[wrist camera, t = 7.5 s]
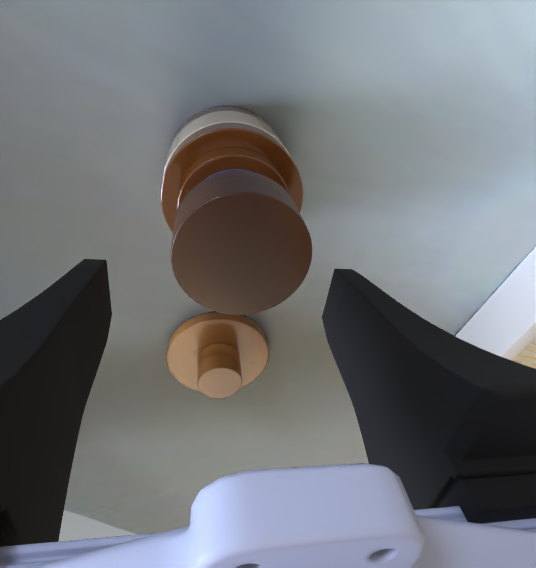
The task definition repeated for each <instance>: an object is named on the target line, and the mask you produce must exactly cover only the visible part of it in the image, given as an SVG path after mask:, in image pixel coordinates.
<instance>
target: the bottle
mask: <svg viewBox="0 0 536 568" xmlns="http://www.w3.org/2000/svg"><path fill="white" fill-rule="evenodd" d="M229 171H249V172H254V173H258V174H261V175H264V176H266V177H268V178H270V179H272V180H274V181H275V182H277V183H278V184H280V185H281V186H282V187H283V188H284V189H285V190H286V191H287V192H288V194H289V195H290V196H291V198H292V199H293V201H294V202H295V204H296V206H297V208H298V210H299V212H300V211H301V207H302V201H303V190H302V182H301V178H300V174H299V172H298V169H297V167H296V165H295V163H294V162H293V159H292V157H291V156H290V154H289V152H288V150H287V149H286V147H285V146H284V144H283V143H282V141H281V140H280V138H279V137H278V135H277V134H276V133H275V132H274V130H273V129H272V128H271V126H270V125H269V124H268V123H267V122H266V121H265V120H263V119H262V118H261V117H259V116H258V115H256V114H254V113H252V112H250V111H248V110H245V109H242V108H238V107H231V106H220V107H214V108H209V109H206V110H203V111H201V112H199V113H197V114H195V115H194V116H192V117H191V118H190V119H188V120H187V121H186V122H185V123H184V124H183V125H182V126H181V127H180V129H179V130H178V131H177V133H176V135H175V136H174V138H173V140H172V143H171V145H170V149H169V152H168V155H167V159H166V163H165V168H164V173H163V178H162V187H161V205H162V210H163V214H164V217H165V220H166V222H167V224H168V226H169V228H170V229H171V231H172V232H173V231H174V222H175V217H176V214H177V211H178V208H179V206H180V204H181V202H182V201H183V199H184V198H185V196H186V195H187V194H188V193H189V192H190V190H192V189H193V188H194V187H195V186H196V185H197V184H199V183H200V182H202V181H203V180H205V179H207V178H209V177H211V176H214V175H217V174H220V173H224V172H229Z"/></svg>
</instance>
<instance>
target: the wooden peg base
mask: <svg viewBox="0 0 536 568" xmlns="http://www.w3.org/2000/svg"><path fill="white" fill-rule="evenodd" d="M268 356H269V350H268V345H267V340H266V337H265V334H264V333H263V331H262V330H261V328H260V327H259V326H258V325H257V324H256V323H255V322H253V321H252V320H250V319H248V318H246V317H244V316H242V315H231V314H224V313H219V312H211V313H206V314H202V315H199V316H196V317H194V318H191V319H189V320H188V321H186V322H185V323H183V324H182V325H181V326H180V327H179V328H178V329H177V330H176V331H175V332H174V333H173V335H172V336H171V338H170V340H169V343H168V348H167V365H168V368H169V370H170V372H171V374H172V375H173V376H174V377H175V379H176V380H178V381H179V382H180V383H181V384H183V385H184V386H186V387H188V388H191V389H194V390H197V391H200V392H201V393H202V394H204V395H205V396H208V397H211V398H225V397H229V396H231V395H233V394H235V393H236V392H237V391H238V390H239V389H240V388H241V387H243V386H245V385H247V384H249V383H250V382H252V381H253V380H254V379H256V378H257V377H258V376H259V375H260V374H261V372H262V371H263V370H264V368H265V366H266V364H267V361H268Z"/></svg>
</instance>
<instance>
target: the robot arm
mask: <svg viewBox="0 0 536 568" xmlns="http://www.w3.org/2000/svg"><path fill="white" fill-rule="evenodd" d="M111 316H112V312H111V302H110V292H109V282H108V272H107V262H106V260H94V259H84V260H83V261H81V262H80V263H79V264H78V265H76V266H75V267H74V268H73V269H71V270H70V271H69V272H68V273H66V274H65V275H64V276H63V277H62V278H60V279H59V280H58V281H56V282H55V283H54V284H53V285H51V286H50V287H49V288H47V289H46V290H45V291H43V292H42V293H41V294H39V295H38V296H36V297H35V298H33V299H32V300H31V301H29V302H28V303H26V304H25V305H23V306H22V307H20V308H19V309H17V310H16V311H14V312H13V313H11V314H10V315H8V316H6V317H5V318H3V319H1V320H0V568H536V369H535V368H532V367H529V366H526V365H523V364H520V363H517V362H514V361H512V360H509V359H506V358H503V357H501V356H498V355H496V354H493V353H491V352H488V351H486V350H483V349H481V348H479V347H477V346H474V345H472V344H470V343H468V342H466V341H463V340H461V339H459V338H457V337H455V336H453V335H451V334H449V333H448V332H446V331H444V330H442V329H440V328H438V327H437V326H435V325H433V324H431V323H430V322H428V321H426V320H425V319H423V318H421V317H420V316H418V315H417V314H415V313H414V312H412V311H410V310H409V309H407V308H406V307H405V306H403V305H402V304H400V303H399V302H397V301H396V300H394V299H393V298H392V297H390V296H389V295H388V294H386V293H385V292H383V291H382V290H381V289H379V288H378V287H377V286H375V285H374V284H373V283H371V282H370V281H369V280H367V279H366V278H364V277H363V276H362V275H360V274H359V273H357V272H355V271H354V270H352V269H335V270H334V273H333V277H332V281H331V285H330V289H329V293H328V296H327V300H326V304H325V308H324V312H323V316H322V319H323V324H324V328H325V332H326V336H327V340H328V343H329V346H330V349H331V351H332V354H333V356H334V359H335V361H336V364H337V366H338V368H339V371H340V373H341V376H342V378H343V380H344V383H345V385H346V388H347V390H348V393H349V395H350V398H351V401H352V403H353V406H354V409H355V413H356V416H357V420H358V423H359V427H360V430H361V434H362V438H363V442H364V445H365V449H366V453H367V457H368V461H369V464H364V463H359V464H343V465H326V466H310V467H294V468H278V469H262V470H248V471H244V472H239V473H234V474H229V475H225V476H222V477H221V478H219V479H217V480H216V481H214V482H212V483H211V484H209V485H207V486H205V487H204V488H203V489H202V490H201V491H200V492H199V493H198V495H197V497H196V499H195V501H194V503H193V504H192V506H191V522H190V525H188V526H184V527H181V528H177V529H173V530H169V531H166V532H161V533H150V534H138V535H127V536H116V537H105V538H93V539H82V540H71V541H60V542H58V540H59V533H60V528H61V522H62V516H63V510H64V505H65V499H66V494H67V488H68V483H69V478H70V473H71V468H72V463H73V458H74V453H75V448H76V443H77V438H78V434H79V429H80V425H81V420H82V416H83V412H84V409H85V405H86V402H87V399H88V396H89V393H90V390H91V387H92V384H93V382H94V379H95V376H96V373H97V370H98V367H99V364H100V361H101V358H102V355H103V352H104V349H105V346H106V343H107V338H108V333H109V327H110V322H111Z"/></svg>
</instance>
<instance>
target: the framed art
mask: <svg viewBox="0 0 536 568" xmlns="http://www.w3.org/2000/svg"><path fill="white" fill-rule="evenodd" d="M455 337H457V338H459V339H461V340H463V341H466V342H468V343H470V344H472V345H474V346H477V347H479V348H481V349H483V350H486V351H488V352H491V353H493V354H496V355H498V356H501V357H503V358H506V359H509V360H512V361H514V362H517V363H520V364H523V365H526V366H529V367H532V368H535V369H536V247H535V248H534V249H533V250H532V251H531V252H530V253H529V254H528V256H527V257H526V258H525V259H524V260H523V261H522V262H521V263H520V264H519V266H518V267H517V268H516V269H515V270H514V271H513V272H512V273H511V274H510V276H509V277H508V278H507V279H506V280H505V281H504V282H503V283H502V284H501V286H500V287H499V288H498V289H497V290H496V291H495V292H494V293H493V294H492V296H491V297H490V298H489V299H488V300H487V301H486V302H485V303H484V304H483V306H482V307H481V308H480V309H479V310H478V311H477V312H476V313H475V314H474V316H473V317H472V318H471V319H470V320H469V321H468V322H467V323H466V324H465V326H464V327H463V328H462V329H461V330H460V331H459V332H458V333H457V334H456V336H455Z"/></svg>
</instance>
